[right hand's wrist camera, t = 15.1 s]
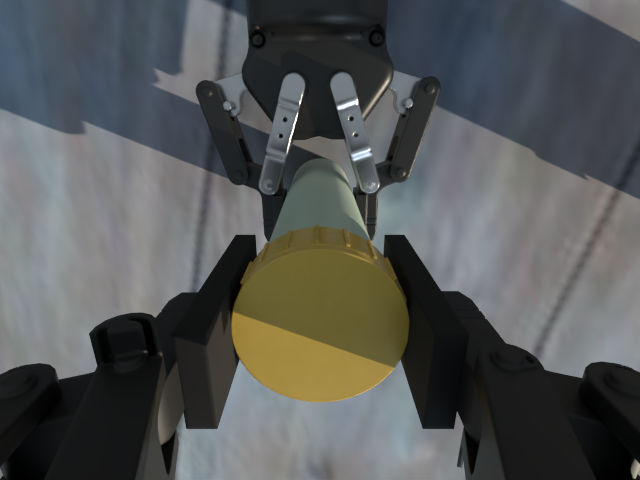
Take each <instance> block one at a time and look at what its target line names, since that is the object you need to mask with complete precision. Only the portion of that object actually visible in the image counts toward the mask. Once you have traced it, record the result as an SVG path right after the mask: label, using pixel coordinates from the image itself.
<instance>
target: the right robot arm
mask: <svg viewBox="0 0 640 480" xmlns="http://www.w3.org/2000/svg"><path fill="white" fill-rule="evenodd" d="M383 256H384V258H386V257H387V258H388V259H389V261H390V263H391V266H392V268H393V270H394V272H395V274H396V277H397V279H398V281H399V283H400V286H401V288H402V290H403V292H404V295H405V297H406V299H407V303H406V305H407V308H408V313H409V320H410V321H409V333H408V342H407V345H406V348H405V351H404V353H403V355H402V357H401V362H402V365H403V368H404V371H405V374H406V377H407V381H408V384H409V387H410V390H411V393H412V396H413V399H414V402H415V406H416V409H417V412H418V415H419V418H420V421H421V424H422V428H423V429H454V425H455V419H456V413H457V412H458V414H459V416H460V418H461V420H462V423H463V425H464V429H463V435H462V440H461V446H460V451H459V457H458V463H457V467H461V468H462V465H463V460H464V469H465V477H466V480H640V476H639V475H638V472H639V469H640V372H637V371H635V370H633V369H632V368H629V367H627V366H622V365H620V364H615V363H608V362H596V363H591V364H589V365H588V366H587V367H586V368H585V371H584V374H583V378H578V377H574V376H569V375H564V374H559V373H554V372H550V371H546V370H544V368H543V366H542V364H541V363H540V362H539V360H538V359H537V358H536V357H535V356H533V355H532V354H530V353H529V352H528V351H526V350H524V349H521V348H519V347H517V346H514V345H510V344H506V343H505V342H504V341H503V339H502V338H501V337H500V335H499V334H498V333H497V332H496V330H495V329H494V328H493V327H492V325H491V324H490V323H489V321H488V320H487V319H485V316H484V315H483V314H482V313H481V311H479V309H478V307H477V306H476V305H475V304H474V302H473V301H472V300H471V299H470V298H468V297H466V296H465V295H463V294H462V293H460V292H459V291H441V290H440V289H439V287H438V285H437V284H436V282H435V281H434V279H433V278H432V276H431V275H430V273H429V272H428V270H427V269H426V267H425V266H424V264H423V263H422V261H421V260H420V258H419V257H418V255H417V254H416V252H415V251H414V249H413V247H412V246H411V244H410V243H409V241H408V240H407V238H406V237H405V235H385V240H384V255H383ZM256 257H257V252H256V237H255V235H236V236H235V237H234V239H233V240H232V242H231V243H230V245H229V246H228V248H227V249H226V251H225V252H224V254H223V255H222V257H221V258H220V260H219V262H218V263H217V265H216V266H215V268H214V269H213V271H212V272H211V274H210V275H209V277H208V278H207V280H206V281H205V283H204V284H203V286H202V287H201V289H200V290H199V292H191V293H181V294H179V295H177V296H176V297H174V298H173V299H171V300H170V301H169V302H168V303H167V304H166V305H165V307H164V308H163V309H162V312H160V313H159V314H158V316H157V317H156V318H155V317H153V316H152V315H150V314H146V313H129V314H124V315H119V316H116V317H113V318H111V319H108V320H106V321H104V322H102V323H101V324H99V325H98V326H96V327H95V328H94V329H93V330H92V331H91V332H90V333H89V335H90V339H91V343H92V347H93V351H94V354H95V358H96V362H97V368H96V370H95V372H92V373H89V374H84V375H79V376H75V377H70V378H65V379H60V380H58V377H57V373H56V370H55V369H54V368H53V367H52V366H51V365H48V364H41V363H38V364H30V365H24V366H19V367H16V368H13V369H10V370H8V371H7V372H5V373H3V374H1V375H0V469H1V471H2V473H3V476H2V478H1V479H0V480H174V478H175V469H176V461H177V453H178V445H179V442H178V435H177V429H176V427H177V425H178V423H179V421H180V418H181V416H182V414H183V412H184V417H185V423H186V429H217V428H218V425H219V422H220V419H221V416H222V413H223V409H224V406H225V403H226V400H227V397H228V394H229V391H230V387H231V384H232V381H233V378H234V375H235V372H236V369H237V366H238V362H239V357H238V355H237V353H236V350H235V347H234V345H233V340H232V330H231V314H232V310H233V306H234V303H235V300H236V298H237V296H238V293H239V291H240V289H241V287H242V284H241V283H240V282H241V280H242V278H243V276H244V273H245V271H246V269H247V267H248V265H249V263H250V261H251V262H253V261H254V260H255V258H256Z"/></svg>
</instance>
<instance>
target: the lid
mask: <svg viewBox="0 0 640 480" xmlns="http://www.w3.org/2000/svg"><path fill="white" fill-rule="evenodd" d="M240 283H241V284H242V287H241V289H240V291H239V293H238V296H237V298H236V300H235V303H234V306H233V310H232V314H231V330H232V340H233V345H234V347H235V350H236V353H237V355H238V357H239V359H240V360H241V362H242V363H243V365H244V366H245V368H246V369H247V370H248V371H249V372H250V373H251V375H252V376H253V377H254V378H256V379H257V380H258V381H259V382H260V383H262V384H263V385H265V386H266V387H268V388H269V389H271V390H273V391H275V392H277V393H279V394H281V395H284V396H287V397H290V398H293V399H297V400H302V401H310V402H331V401H338V400H343V399H347V398H350V397H354V396H356V395H359V394H361V393H364V392H365V391H367V390H369V389H371V388H373V387H374V386H376V385H377V384H379V383H380V382H381V381H382V380H384V379H385V378H386V377H387V376H388V375H389V374H390V373H391V372H392V370H393V369H394V368H395V367H396V365H397V364H398V362H399V361H400V359H401V357H402V355H403V353H404V351H405V348H406V345H407V342H408V333H409V321H410V320H409V313H408V308H407V305H406V303H407V299H406V297H405V295H404V292H403V290H402V288H401V286H400V283H399V281H398V279H397V277H396V274H395V272H394V270H393V268H392V266H391V263H390V261H389V259H388V258H387V257H386V258H384V256H383V255H382V254H381V253H380V252H379V251H378V250H377V248H375V247H374V246H373V245H372V242H371V240H369V239H368V240H367V241H366V240H365V239H363V238H362V237H360V236H358V235H356V234H353V233H351V232H348V231H347V229H346V228H343V230H342V229H338V228H332V227H319V225H316V227H308V228H303V229H298V230H295V231H292V230H288V233H287V234H285V235H283V236H281V237H279V238H277V239H275V240H274V241H272V242H271V243H268V242H267V243H266V244H265V246H264V249H263V250H262V251H261V252H260V253H259V254H258V256H257V257H256V258H255V260H254V261H253V262H251V261H250V263H249V265H248V267H247V269H246V271H245V273H244V276H243V278H242V280H241V282H240Z"/></svg>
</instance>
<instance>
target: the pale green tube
mask: <svg viewBox="0 0 640 480" xmlns="http://www.w3.org/2000/svg"><path fill="white" fill-rule="evenodd" d="M316 225H319V227H332V228H338V229H342V230H343V228H346V229H347V231H348V232H351V233H353V234H356V235H358V236H360V237H362V238H363V239H365V240H366V241H367V240H368V239H369V240H370V238H369V235H368V233H367V230H366V228H365V225H364V222H363V220H362V217H361V214H360V212H359V209H358V206H357V204H356V201H355V198H354V196H353V193H352V191H351V188H350V185H349V183H348V180H347V177H346V175H345V173H344V171H343V170H342V168H341V167H340V166H339V165H337V164H336V163H335V162H333V161H331V160H328V159H322V158H318V159H312V160H309V161H307V162H305V163H304V164H303V165H301V166H300V167H299V169H298V170H297V171H296V173H295V175H294V177H293V180H292V183H291V185H290V188H289V191H288V193H287V196H286V199H285V201H284V204H283V207H282V209H281V212H280V215H279V217H278V220H277V223H276V225H275V228H274V231H273V233H272V236H271V239H270V241H269V243H271V242H272V241H274V240H275V239H277V238H279V237H281V236H283V235H285V234H287V233H288V230H292V231H295V230H298V229H303V228H308V227H316Z"/></svg>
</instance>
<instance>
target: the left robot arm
mask: <svg viewBox="0 0 640 480" xmlns="http://www.w3.org/2000/svg"><path fill="white" fill-rule="evenodd" d="M246 9H247V23H248V37H249V48H248V53H247V57H246V59H245V62H244V64H243V67H242V72H241V73H238V74H235V75H232V76H229V77H226V78H223V79H220V80H218V81H207V80H204V81H201V82H200V83H199V84H198V85H197V87H196V95H197V98H198V100H199V103H200V105H201V108H202V110H203V113H204V116H205V118H206V121H207V123H208V126H209V128H210V131H211V134H212V136H213V139H214V141H215V144H216V146H217V149H218V152H219V154H220V157H221V159H222V162H223V165H224V167H225V170H226V172H227V175H228V177H229V180H230V181H231V182H232V183H233V184H235V185H242V184H244V185H247V186H249V187H252V188H255V189H256V190H258V191H259V193H260V194H261V197H262V206H263V219H264V235H265V237H266V239H267V241H268V242H269V241H270V239H271V236H272V233H273V231H274V228H275V225H276V223H277V220H278V217H279V215H280V212H281V209H282V207H283V204H284V201H285V199H286V196H287V189H283V176H284V172H285V169H286V165H287V161H288V158H289V154H290V151H291V148H292V144H293V141H294V140H306V139H309V138H312V137H316V136H322V137H325V138H329V139H344V141H345V145H346V148H347V151H348V154H349V157H350V160H351V163H352V167H353V170H354V173H355V177H356V180H357V187H353V196H354V198H355V201H356V204H357V206H358V209H359V212H360V214H361V217H362V220H363V222H364V225H365V228H366V230H367V233H368V235H369V238H370V240H373V239H374V237H375V235H376V230H377V206H378V194H379V192H380V190H381V189H382V188H383V187H385V186H387V185H390V184H392V183H395V182H404V181H406V180H407V179H408V178H409V176H410V173H411V171H412V168H413V165H414V162H415V159H416V157H417V154H418V151H419V148H420V145H421V143H422V140H423V137H424V134H425V131H426V129H427V126H428V123H429V120H430V117H431V115H432V112H433V109H434V106H435V103H436V101H437V98H438V95H439V92H440V82H439V81H438V79H437V78H435V77H431V76H430V77H426V78H418V77H415V76H411V75H408V74H405V73H402V72H398V71H395V70H394V67H393V63H392V61H391V59H390V57H389V54H388V51H387V47H386V22H387V0H246ZM387 89H389V90H391V92H392V93H393V97H394V100H393V108H394V110H395V111H396V112H397V113H399V114H400V116H399V119H398V123H397V126H396V129H395V132H394V135H393V138H392V141H391V144H390V147H389V150H388V153H387V156H386V159H385V161H383V162H381V163H378V164H375V163H374V159H373V156H372V150H371V146H370V142H369V138H368V135H367V131H366V128H365V124H364V121H365V120H366V118H367V117H368V116H369V114H370V113H371V111H372V110H373V109H374V107H375V106H376V104H377V103H378V102H379V100H380V99H381V97H382V96H383V94H384V93H385V92H386V90H387ZM247 91H249V92H250V94H251V95H252V96H253V97H254V99H255V100H256V101H257V103H258V104H259V105H260V107H261V108H262V109H263V111H264V112H265V113H266V115H267V116H268V117H269V119H270V120H271V121H272V123H273V124H272V128H271V132H270V136H269V140H268V144H267V148H266V156H265V160H264V164H263V166H262V165H259V164H256V163H253V160H252V157H251V155H250V152H249V149H248V146H247V144H246V141H245V138H244V135H243V132H242V130H241V127H240V124H239V121H238V118H237V116H238V115H240V114H241V113H242V111H243V108H244V105H243V96H244V94H245V93H246V92H247Z"/></svg>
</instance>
